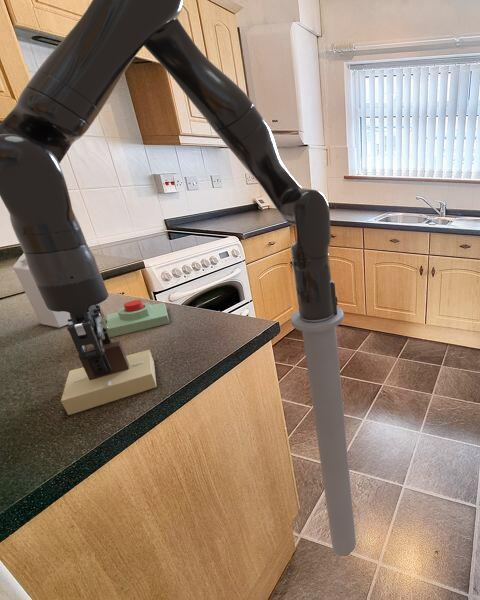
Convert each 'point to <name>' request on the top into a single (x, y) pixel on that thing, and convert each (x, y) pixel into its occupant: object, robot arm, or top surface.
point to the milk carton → (38, 297)
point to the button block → (136, 319)
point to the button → (133, 306)
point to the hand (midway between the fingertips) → (105, 362)
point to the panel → (108, 384)
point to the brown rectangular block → (109, 359)
